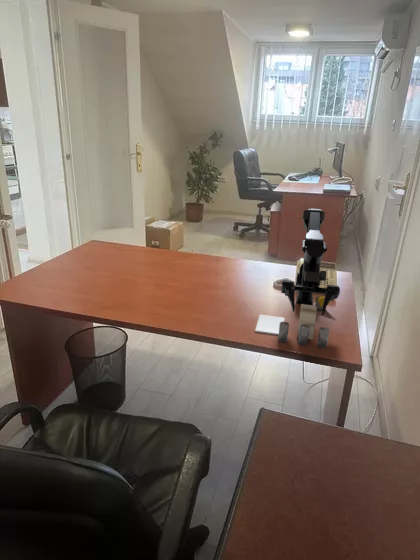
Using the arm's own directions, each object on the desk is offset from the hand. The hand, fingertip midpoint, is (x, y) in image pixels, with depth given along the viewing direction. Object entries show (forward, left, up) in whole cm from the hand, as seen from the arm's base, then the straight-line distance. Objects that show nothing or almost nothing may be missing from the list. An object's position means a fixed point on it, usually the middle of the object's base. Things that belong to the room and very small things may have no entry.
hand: (307, 313), depth 131 cm
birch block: (0, 0, -8) cm, 8 cm away
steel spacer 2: (+5, +5, -8) cm, 11 cm away
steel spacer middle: (+5, 0, -8) cm, 10 cm away
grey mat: (-3, -12, -8) cm, 15 cm away
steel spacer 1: (+5, -7, -8) cm, 12 cm away
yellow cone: (-22, +6, -8) cm, 24 cm away
